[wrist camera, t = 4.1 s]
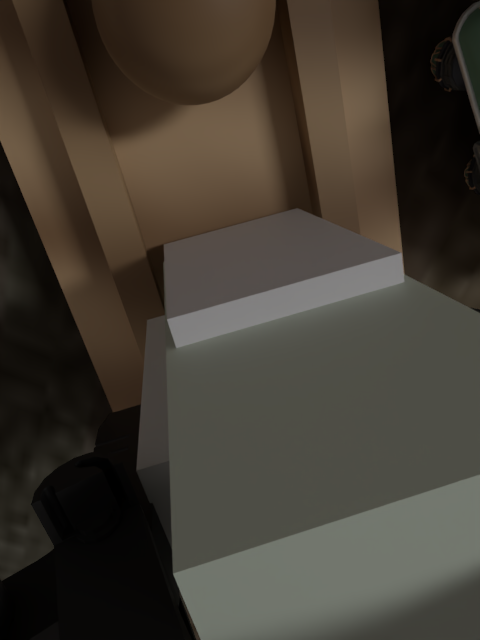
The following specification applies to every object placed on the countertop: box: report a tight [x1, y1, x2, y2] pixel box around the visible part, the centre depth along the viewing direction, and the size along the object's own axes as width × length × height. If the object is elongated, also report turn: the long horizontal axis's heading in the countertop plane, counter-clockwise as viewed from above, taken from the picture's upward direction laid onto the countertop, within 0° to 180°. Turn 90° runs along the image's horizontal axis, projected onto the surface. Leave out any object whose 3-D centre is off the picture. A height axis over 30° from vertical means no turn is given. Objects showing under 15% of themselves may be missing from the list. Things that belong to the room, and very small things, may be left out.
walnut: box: [92, 0, 276, 105], centre depth 11 cm, size 4×4×4 cm
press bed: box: [0, 0, 404, 412], centre depth 13 cm, size 20×12×7 cm, turn 14°
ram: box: [163, 208, 480, 640], centre depth 10 cm, size 5×5×12 cm
